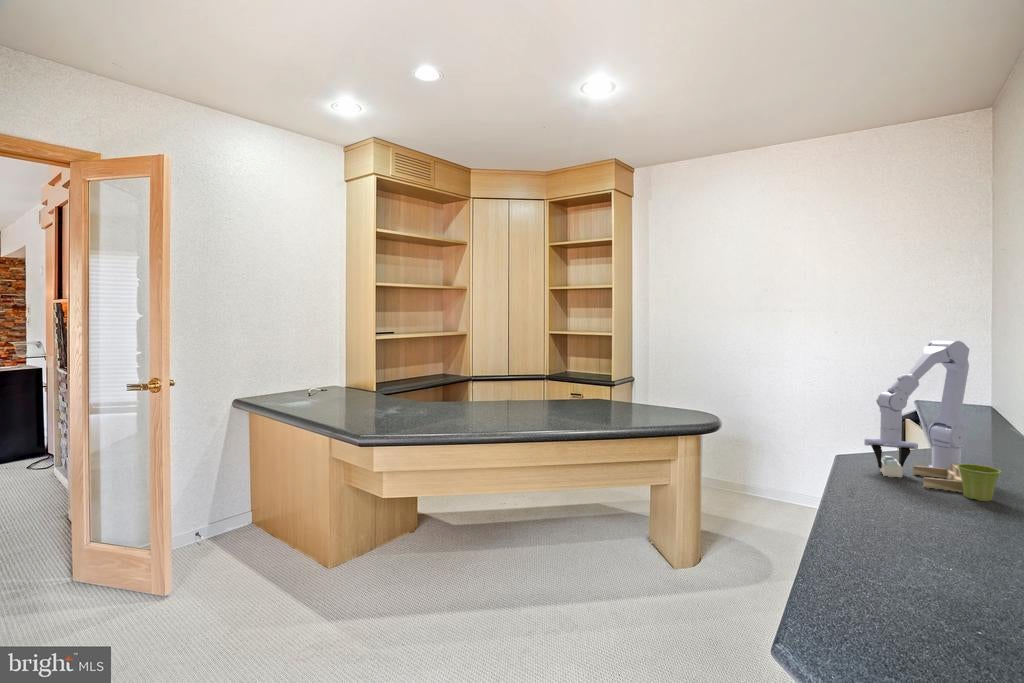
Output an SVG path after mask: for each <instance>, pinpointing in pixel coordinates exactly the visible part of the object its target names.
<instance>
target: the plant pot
mask: <svg viewBox="0 0 1024 683" xmlns="http://www.w3.org/2000/svg"><path fill="white" fill-rule="evenodd" d="M957 467H958V468H959V470H960V473H961V478H962V485H963V492H962V493H963V497H965V498H967V499H970V500H973V499H974V500H977V501H980V502H991V501H992V500H993V497H994V494H995V487H996V484H997V480H998V478H999V476H1000V474H1001V473H1002V471H1001V469H998V468H995V467H992V466H986V465H982V464H971V463H960V464H959V465H957Z"/></svg>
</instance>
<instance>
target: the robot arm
mask: <svg viewBox="0 0 1024 683" xmlns="http://www.w3.org/2000/svg"><path fill="white" fill-rule="evenodd" d="M969 354H970V348H969V347H968V346H967V344H965V342H963V341H962V340H961V341H960V340H938V339H933V340H931V341H929V343H928V344H927V345H926V346H924V347H923V353H922V355H921V356H920V357H919V359H918V360H917V362H916V363H915V364H914V365H913V367H912V368H911V369H910V370H909V371H908V373H906V374H904V373H903V374H901V375H898V376H897V377H896V381H895V382H894V383H893V384H892V385H891V386H889V387H888V389H887V390H886V391H884V392H883V391H882V392H881V393H880V394H879V395H878V398H876V400H875V401H876V404H877V406H878V407H879V412H880V426H879V427H880V431H879V434H880V435H879V438H864V440H863V441H864V442H863V444H864V446H871V449H872V451H873V452H874V455H875V458H876V461H877V468H878V467H879V468H882V462H881V458H882V453H883V449H882V447H883V448H885V447H886V448H897V449H898V462H899V464H900V465H901V466H902V467H904V464H905V462H906V460H907V459H908V457H909V455H910V454H911V450H916V451H918V450H919V444H918V443H917V442H909V441H904V440H903V441H902V426H903V425H902V421H903V420H902V418H903V410H904V409H905V408H906V407H907V405H908V400H909V398H910V396H911V395H912V394H913V393H914V391H916V390H917V388H918V387H919V386H920V383H919V382H920V381H919V380H920V379H921V378H922V377H923V376H924V375H926V373H927V372H929V371H930V370H931V369H932V368H933V367H934V366H935V365H936V364H941V365H942V366H943V367H944V368H945V369H946V373H945V377H944V378H945V379H944V385H943V390H942V396H941V402H940V408H939V412H938V413H939V414H938V415H937V416H935V417H934V418H933V419H931V424H930V425H929V426H928V429H927V437H928V438H929V439H930V440H931V444H932V448H931V464H928V465H927V467H928V466H929V467H935V468H945V469H950V463H956V464H961V463H962V462H961V459H962V458H961V455H962V454H961V452H962V448H964V445H966V443H967V442H968V432H967V428H968V425H967V424H966V423H965V422H964V421H963V420H962V419H961V415H962V410H963V403H964V398H965V392H966V386H967V381H968V380H967V379H968V376H969V369H970V363H969ZM879 468H878V469H879Z"/></svg>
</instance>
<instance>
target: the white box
mask: <svg viewBox="0 0 1024 683" xmlns="http://www.w3.org/2000/svg"><path fill="white" fill-rule="evenodd" d="M881 462H882V468H878V470H879V469H880V470H879V471H880V473H881V472H882V473H881V475H882V474H883V475H882V476H883V477H884V476H888V477H887V478H893V477H898V478H897V479H903V477H904V476H903V467H904V466H903V467H902V466H901V465H900V464H899V460H897V458H895V457H894V456H892V455H883V457H881Z"/></svg>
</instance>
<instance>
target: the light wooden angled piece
mask: <svg viewBox="0 0 1024 683" xmlns="http://www.w3.org/2000/svg"><path fill="white" fill-rule="evenodd" d="M957 465H959V464H956V463H950V469H945V468H935V467H928V466H922V465H913V466H912V467H913V468H912V469H913V472H912V475H913V476H915V475H922V476H921V477H923V486H924V487H927V488H926V489H929V488H936V489H935V490H938V489H944V490H943V491H947V490H951V491H950V492H956V491H958V493H963V485H962V478H961V473H960V470H959V468H958V467H957ZM925 476H932V477H925ZM934 477H943V478H934ZM944 478H947V479H948V480H947V479H944ZM924 487H923V488H924Z"/></svg>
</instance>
